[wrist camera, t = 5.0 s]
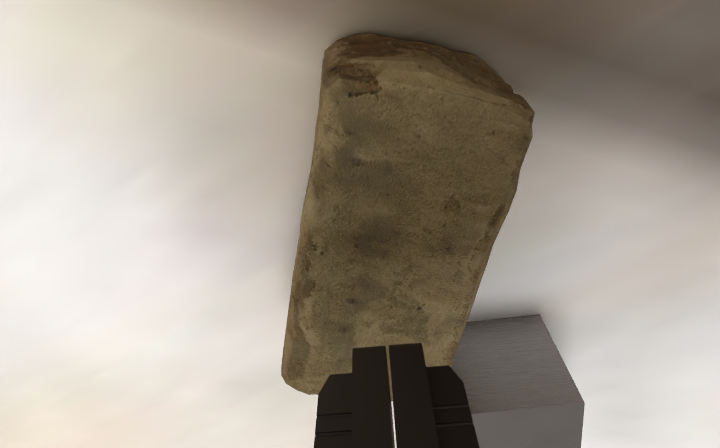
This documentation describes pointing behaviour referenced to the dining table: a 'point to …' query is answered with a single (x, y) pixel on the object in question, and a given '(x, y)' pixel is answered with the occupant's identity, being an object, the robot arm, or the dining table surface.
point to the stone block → (399, 202)
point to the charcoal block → (518, 385)
